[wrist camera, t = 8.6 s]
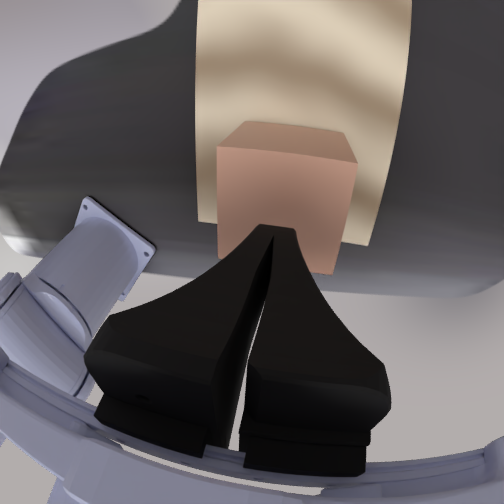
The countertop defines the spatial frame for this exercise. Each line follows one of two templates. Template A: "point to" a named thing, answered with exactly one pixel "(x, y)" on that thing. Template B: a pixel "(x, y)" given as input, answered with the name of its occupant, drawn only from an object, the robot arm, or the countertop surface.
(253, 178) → the salmon orange cube
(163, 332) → the robot arm
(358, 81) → the maple board
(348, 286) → the countertop surface
